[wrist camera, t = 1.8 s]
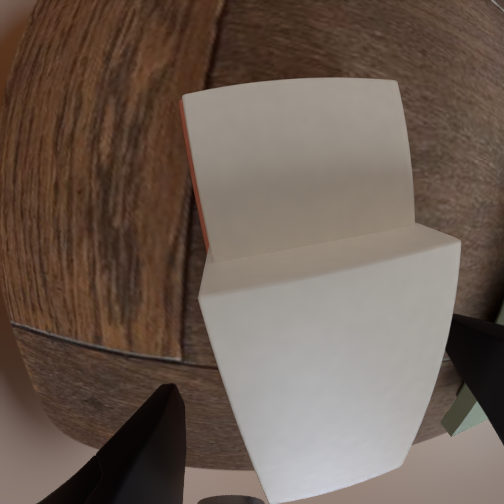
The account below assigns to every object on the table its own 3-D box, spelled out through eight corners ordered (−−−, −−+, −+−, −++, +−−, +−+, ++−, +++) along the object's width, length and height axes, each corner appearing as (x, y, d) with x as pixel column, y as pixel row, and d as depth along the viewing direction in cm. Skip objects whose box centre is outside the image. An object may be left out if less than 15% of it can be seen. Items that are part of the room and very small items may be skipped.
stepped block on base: (361, 402, 12) (399, 474, 7) (256, 428, 12) (268, 512, 7) (348, 91, 8) (442, 45, 3) (185, 110, 8) (140, 49, 3)
